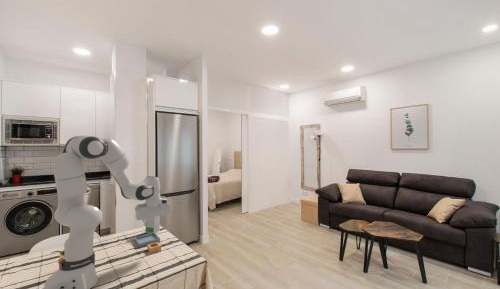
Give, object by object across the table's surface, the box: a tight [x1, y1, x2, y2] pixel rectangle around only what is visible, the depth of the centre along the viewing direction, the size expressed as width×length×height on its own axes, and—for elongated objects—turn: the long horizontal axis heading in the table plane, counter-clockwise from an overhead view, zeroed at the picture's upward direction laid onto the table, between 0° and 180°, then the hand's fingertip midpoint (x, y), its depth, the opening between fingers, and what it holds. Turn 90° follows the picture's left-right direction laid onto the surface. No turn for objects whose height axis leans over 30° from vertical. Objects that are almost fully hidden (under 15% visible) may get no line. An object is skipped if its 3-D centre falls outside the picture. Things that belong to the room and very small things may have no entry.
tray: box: [133, 232, 161, 248], centre depth 157 cm, size 13×13×2 cm
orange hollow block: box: [146, 242, 162, 254], centre depth 145 cm, size 6×8×3 cm
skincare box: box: [145, 215, 161, 234], centre depth 174 cm, size 8×7×16 cm
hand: (153, 223), depth 144 cm, fingers open, 8 cm apart
